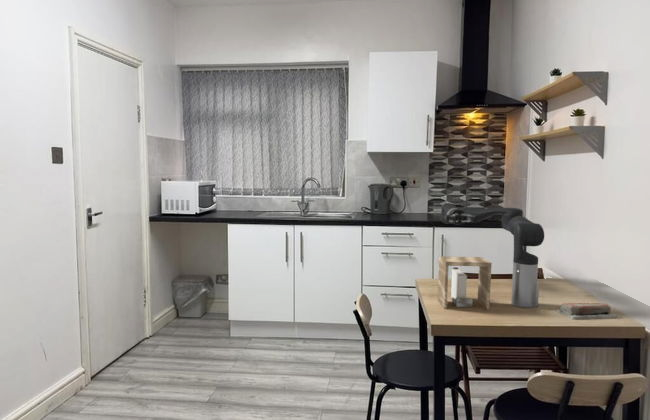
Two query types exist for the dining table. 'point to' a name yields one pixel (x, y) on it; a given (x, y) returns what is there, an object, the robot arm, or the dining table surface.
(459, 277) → the white box
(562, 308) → the packaged product
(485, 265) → the wooden arch
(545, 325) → the dining table surface
